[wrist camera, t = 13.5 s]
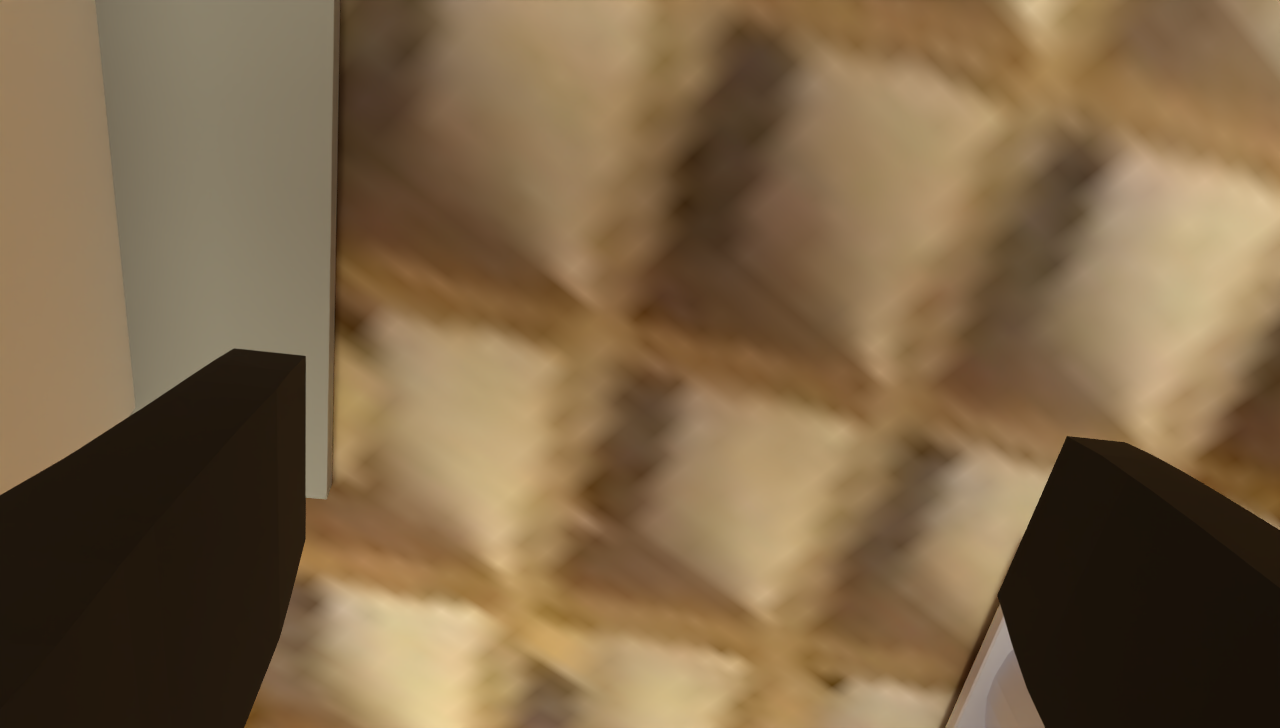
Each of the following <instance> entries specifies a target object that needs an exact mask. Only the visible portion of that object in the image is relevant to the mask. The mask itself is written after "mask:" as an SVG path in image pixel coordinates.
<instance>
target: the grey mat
mask: <svg viewBox="0 0 1280 728" xmlns="http://www.w3.org/2000/svg"><path fill="white" fill-rule="evenodd" d="M95 4H96V14H97V24H98V34H99V44H100V54H101V64H102V74H103V84H104V95H105V105H106V115H107V125H108V135H109V145H110V155H111V165H112V175H113V185H114V195H115V206H116V216H117V226H118V236H119V246H120V256H121V266H122V276H123V286H124V296H125V306H126V316H127V327H128V337H129V347H130V357H131V367H132V377H133V387H134V397H135V409H134V410H133V412H132V413H131V414H130V416H131V415H132V414H134V413H136V412H137V411H139V410H140V409H142V408H143V407H145V406H146V405H148V404H149V403H151V402H152V401H154V400H155V399H157V398H158V397H160V396H161V395H163V394H164V393H166V392H167V391H169V390H170V389H172V388H173V387H175V386H176V385H178V384H179V383H181V382H182V381H184V380H185V379H187V378H188V377H190V376H191V375H193V374H194V373H196V372H197V371H199V370H200V369H202V368H203V367H205V366H206V365H208V364H209V363H211V362H212V361H214V360H216V359H217V358H219V357H220V356H222V355H224V354H225V353H227V352H229V351H230V350H232V349H234V348H236V349H246V350H255V351H265V352H274V353H284V354H293V355H303V356H306V498H318V499H327V497H328V494H329V491H330V488H331V485H332V442H333V385H334V328H335V271H336V214H337V157H338V100H339V42H340V0H95Z"/></svg>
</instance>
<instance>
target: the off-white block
mask: <svg viewBox="0 0 1280 728" xmlns="http://www.w3.org/2000/svg"><path fill="white" fill-rule="evenodd" d="M134 409H135V397H134V387H133V377H132V367H131V357H130V347H129V337H128V327H127V316H126V306H125V296H124V286H123V276H122V266H121V256H120V246H119V236H118V226H117V216H116V206H115V195H114V185H113V175H112V165H111V155H110V145H109V135H108V125H107V115H106V105H105V95H104V84H103V74H102V64H101V54H100V44H99V34H98V24H97V14H96V4H95V0H0V495H1V494H3V493H5V492H6V491H8V490H10V489H12V488H13V487H15V486H17V485H19V484H20V483H22V482H24V481H26V480H27V479H29V478H31V477H32V476H34V475H36V474H38V473H39V472H41V471H43V470H45V469H46V468H48V467H50V466H52V465H53V464H55V463H57V462H58V461H60V460H62V459H64V458H65V457H67V456H68V455H70V454H72V453H73V452H75V451H76V450H78V449H80V448H81V447H83V446H84V445H86V444H87V443H89V442H90V441H92V440H94V439H95V438H97V437H98V436H100V435H101V434H103V433H104V432H106V431H108V430H109V429H111V428H112V427H114V426H115V425H117V424H118V423H120V422H122V421H123V420H125V419H126V418H128V417H129V416H130V414H131V413H132V412H133V410H134Z"/></svg>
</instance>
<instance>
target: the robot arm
mask: <svg viewBox="0 0 1280 728" xmlns="http://www.w3.org/2000/svg"><path fill="white" fill-rule="evenodd" d="M305 519H306V356H303V355H293V354H284V353H274V352H265V351H255V350H246V349H236V348H234V349H232V350H230V351H229V352H227V353H225V354H224V355H222V356H220V357H219V358H217V359H216V360H214V361H212V362H211V363H209V364H208V365H206V366H205V367H203V368H202V369H200V370H199V371H197V372H196V373H194V374H193V375H191V376H190V377H188V378H187V379H185V380H184V381H182V382H181V383H179V384H178V385H176V386H175V387H173V388H172V389H170V390H169V391H167V392H166V393H164V394H163V395H161V396H160V397H158V398H157V399H155V400H154V401H152V402H151V403H149V404H148V405H146V406H145V407H143V408H142V409H140V410H139V411H137V412H136V413H134V414H132V415H131V416H129V417H128V418H126V419H125V420H123V421H122V422H120V423H118V424H117V425H115V426H114V427H112V428H111V429H109V430H108V431H106V432H104V433H103V434H101V435H100V436H98V437H97V438H95V439H94V440H92V441H90V442H89V443H87V444H86V445H84V446H83V447H81V448H80V449H78V450H76V451H75V452H73V453H72V454H70V455H68V456H67V457H65V458H64V459H62V460H60V461H58V462H57V463H55V464H53V465H52V466H50V467H48V468H46V469H45V470H43V471H41V472H39V473H38V474H36V475H34V476H32V477H31V478H29V479H27V480H26V481H24V482H22V483H20V484H19V485H17V486H15V487H13V488H12V489H10V490H8V491H6V492H5V493H3V494H1V495H0V728H244V726H245V724H246V721H247V719H248V717H249V714H250V711H251V709H252V706H253V704H254V701H255V699H256V696H257V694H258V691H259V689H260V686H261V684H262V681H263V679H264V676H265V674H266V671H267V669H268V666H269V664H270V661H271V659H272V656H273V653H274V651H275V648H276V646H277V643H278V641H279V638H280V635H281V631H282V627H283V624H284V620H285V616H286V613H287V609H288V605H289V601H290V598H291V594H292V590H293V586H294V582H295V578H296V574H297V570H298V566H299V562H300V558H301V554H302V551H303V547H304V543H305ZM998 599H999V602H1000V605H999V607H998V609H997V611H996V614H995V616H994V618H993V620H992V623H991V625H990V627H989V629H988V632H987V634H986V636H985V639H984V641H983V643H982V645H981V648H980V650H979V652H978V654H977V657H976V659H975V661H974V664H973V666H972V668H971V670H970V673H969V675H968V677H967V679H966V682H965V684H964V686H963V689H962V691H961V693H960V695H959V698H958V700H957V702H956V704H955V707H954V709H953V711H952V713H951V716H950V718H949V720H948V723H947V725H946V727H945V728H1280V530H1278V529H1277V528H1275V527H1274V526H1272V525H1270V524H1269V523H1267V522H1266V521H1264V520H1262V519H1261V518H1259V517H1257V516H1256V515H1254V514H1252V513H1251V512H1249V511H1248V510H1246V509H1244V508H1243V507H1241V506H1239V505H1238V504H1236V503H1235V502H1233V501H1231V500H1230V499H1228V498H1226V497H1225V496H1223V495H1221V494H1220V493H1218V492H1216V491H1215V490H1213V489H1211V488H1210V487H1208V486H1206V485H1205V484H1203V483H1201V482H1200V481H1198V480H1196V479H1194V478H1193V477H1191V476H1189V475H1187V474H1186V473H1184V472H1182V471H1181V470H1179V469H1177V468H1175V467H1173V466H1172V465H1170V464H1168V463H1166V462H1164V461H1162V460H1161V459H1159V458H1157V457H1155V456H1153V455H1151V454H1149V453H1147V452H1145V451H1143V450H1140V449H1138V448H1136V447H1134V446H1132V445H1130V444H1128V443H1125V442H1117V441H1107V440H1098V439H1088V438H1079V437H1069V436H1067V437H1066V440H1065V442H1064V444H1063V447H1062V449H1061V451H1060V454H1059V456H1058V458H1057V460H1056V463H1055V465H1054V467H1053V470H1052V472H1051V474H1050V476H1049V479H1048V481H1047V483H1046V486H1045V488H1044V490H1043V492H1042V495H1041V497H1040V499H1039V502H1038V504H1037V506H1036V508H1035V511H1034V513H1033V515H1032V518H1031V520H1030V522H1029V525H1028V527H1027V529H1026V531H1025V534H1024V536H1023V538H1022V541H1021V543H1020V545H1019V547H1018V550H1017V552H1016V554H1015V557H1014V559H1013V561H1012V563H1011V566H1010V568H1009V570H1008V573H1007V575H1006V577H1005V579H1004V582H1003V584H1002V586H1001V589H1000V591H999V593H998Z"/></svg>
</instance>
